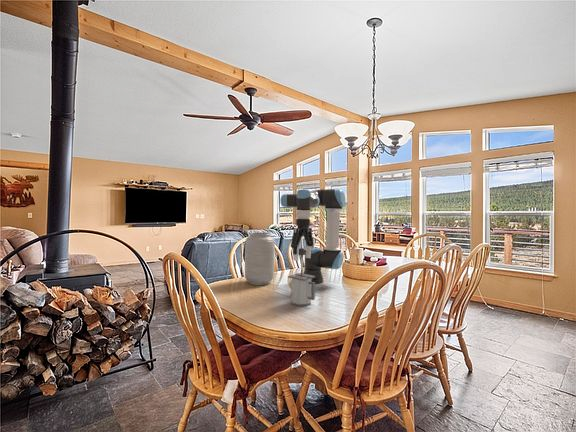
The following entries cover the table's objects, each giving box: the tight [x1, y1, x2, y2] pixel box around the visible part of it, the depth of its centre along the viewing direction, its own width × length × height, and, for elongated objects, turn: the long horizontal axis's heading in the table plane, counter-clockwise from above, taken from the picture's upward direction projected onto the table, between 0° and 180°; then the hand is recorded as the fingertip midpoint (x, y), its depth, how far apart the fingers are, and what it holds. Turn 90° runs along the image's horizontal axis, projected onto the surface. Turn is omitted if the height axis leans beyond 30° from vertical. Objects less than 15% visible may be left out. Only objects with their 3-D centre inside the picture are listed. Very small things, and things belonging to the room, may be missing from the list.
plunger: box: [298, 247, 306, 277], centre depth 163 cm, size 7×7×17 cm
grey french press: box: [287, 272, 316, 307], centre depth 162 cm, size 11×14×15 cm
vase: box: [244, 232, 276, 286], centre depth 205 cm, size 20×20×34 cm
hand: (302, 259), depth 163 cm, fingers open, 11 cm apart
